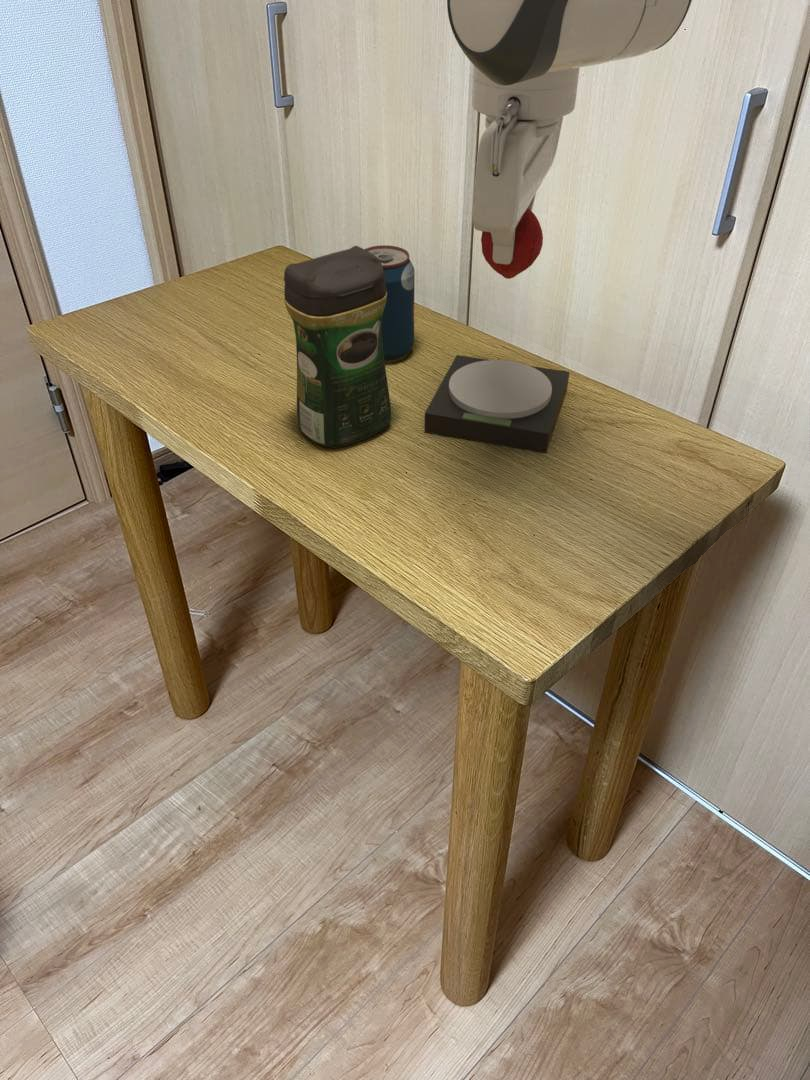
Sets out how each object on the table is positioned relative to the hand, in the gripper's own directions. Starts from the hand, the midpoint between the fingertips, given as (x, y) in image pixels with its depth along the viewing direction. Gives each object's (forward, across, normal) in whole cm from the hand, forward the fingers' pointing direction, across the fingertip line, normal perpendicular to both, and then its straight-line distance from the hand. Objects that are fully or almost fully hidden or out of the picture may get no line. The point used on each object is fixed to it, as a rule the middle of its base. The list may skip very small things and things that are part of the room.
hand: (511, 246), depth 81 cm
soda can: (+18, +9, +16) cm, 26 cm away
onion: (+3, 0, 0) cm, 3 cm away
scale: (+18, 0, 0) cm, 18 cm away
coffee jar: (+18, -8, +15) cm, 25 cm away
